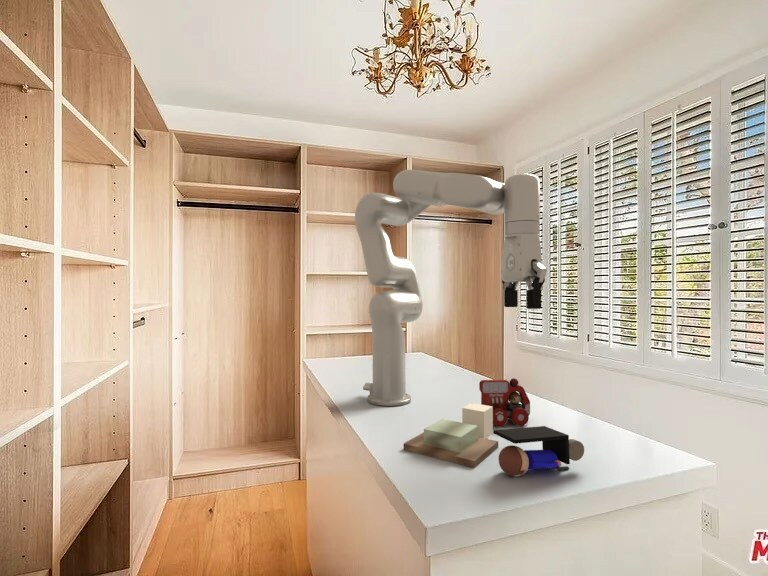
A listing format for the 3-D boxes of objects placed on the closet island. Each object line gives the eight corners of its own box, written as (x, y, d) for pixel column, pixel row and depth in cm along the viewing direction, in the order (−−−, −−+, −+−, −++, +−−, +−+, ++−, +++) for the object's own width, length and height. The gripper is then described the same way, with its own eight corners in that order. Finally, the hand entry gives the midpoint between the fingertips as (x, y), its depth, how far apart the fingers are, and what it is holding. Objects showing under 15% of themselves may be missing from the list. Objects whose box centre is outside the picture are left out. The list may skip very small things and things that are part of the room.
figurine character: (555, 464, 80) (488, 468, 74) (558, 424, 80) (492, 424, 74) (583, 479, 73) (513, 484, 68) (587, 435, 74) (517, 436, 68)
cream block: (462, 435, 92) (462, 407, 92) (471, 429, 96) (471, 403, 96) (484, 440, 89) (484, 411, 89) (492, 433, 93) (492, 406, 93)
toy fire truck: (536, 425, 98) (536, 381, 98) (485, 427, 97) (485, 382, 97) (523, 417, 105) (523, 375, 105) (475, 418, 104) (475, 376, 104)
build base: (403, 449, 83) (403, 428, 83) (432, 432, 93) (432, 413, 93) (474, 467, 75) (474, 444, 75) (498, 447, 84) (498, 426, 85)
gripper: (488, 235, 102) (488, 306, 101) (527, 225, 85) (527, 309, 85) (517, 236, 103) (517, 306, 103) (560, 226, 86) (560, 309, 86)
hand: (521, 307), depth 94 cm, fingers open, 9 cm apart
